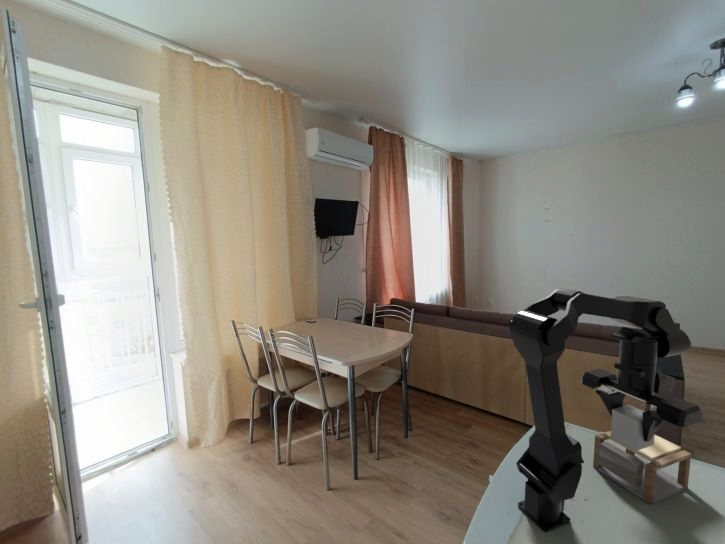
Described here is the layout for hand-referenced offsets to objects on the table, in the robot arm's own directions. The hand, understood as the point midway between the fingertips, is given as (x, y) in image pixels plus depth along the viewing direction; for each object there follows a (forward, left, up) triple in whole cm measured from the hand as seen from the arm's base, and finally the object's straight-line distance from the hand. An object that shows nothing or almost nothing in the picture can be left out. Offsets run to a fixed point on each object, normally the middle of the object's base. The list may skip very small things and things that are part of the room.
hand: (632, 433), depth 68 cm
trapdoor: (+4, +1, -9) cm, 10 cm away
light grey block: (0, 0, -2) cm, 2 cm away
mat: (+5, +1, -12) cm, 13 cm away
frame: (+5, +1, -12) cm, 13 cm away
